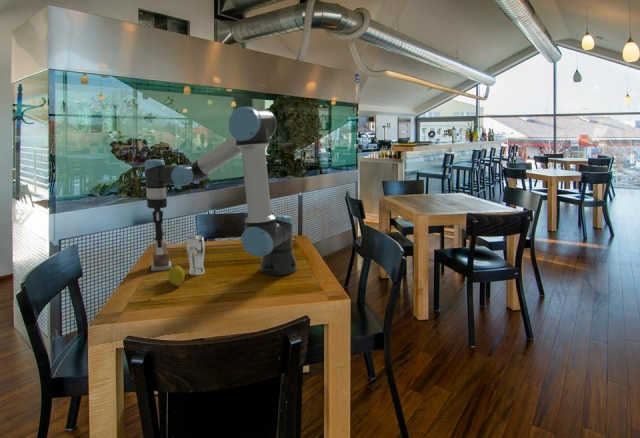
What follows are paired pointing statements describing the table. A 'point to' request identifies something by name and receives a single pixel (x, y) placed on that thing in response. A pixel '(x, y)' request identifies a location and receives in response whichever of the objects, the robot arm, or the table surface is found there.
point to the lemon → (176, 275)
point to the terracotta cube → (163, 247)
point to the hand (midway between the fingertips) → (160, 252)
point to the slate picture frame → (161, 267)
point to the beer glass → (196, 254)
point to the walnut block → (160, 260)
